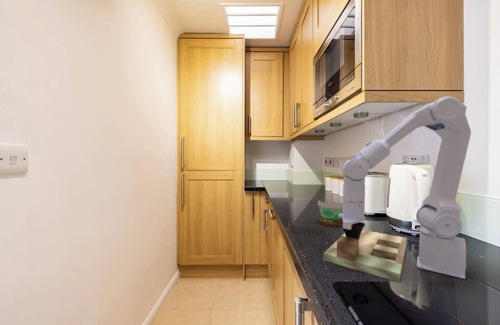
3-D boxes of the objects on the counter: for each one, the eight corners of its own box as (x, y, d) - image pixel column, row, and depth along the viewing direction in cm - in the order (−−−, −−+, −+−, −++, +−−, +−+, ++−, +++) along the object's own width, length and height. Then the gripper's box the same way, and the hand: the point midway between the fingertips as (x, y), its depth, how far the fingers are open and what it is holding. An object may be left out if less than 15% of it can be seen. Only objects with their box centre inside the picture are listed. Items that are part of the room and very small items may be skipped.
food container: (314, 225, 98) (315, 201, 98) (317, 221, 103) (318, 199, 103) (345, 229, 92) (346, 204, 92) (347, 225, 98) (347, 202, 97)
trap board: (407, 243, 78) (407, 238, 78) (399, 282, 54) (399, 273, 54) (350, 232, 88) (350, 227, 88) (323, 260, 64) (323, 253, 64)
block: (358, 255, 63) (358, 239, 63) (354, 261, 60) (354, 244, 59) (341, 251, 66) (341, 235, 66) (336, 256, 62) (336, 240, 62)
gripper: (345, 196, 74) (344, 237, 75) (331, 203, 63) (330, 252, 63) (370, 198, 70) (368, 242, 70) (359, 206, 58) (358, 259, 59)
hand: (352, 247), depth 66 cm, fingers closed
